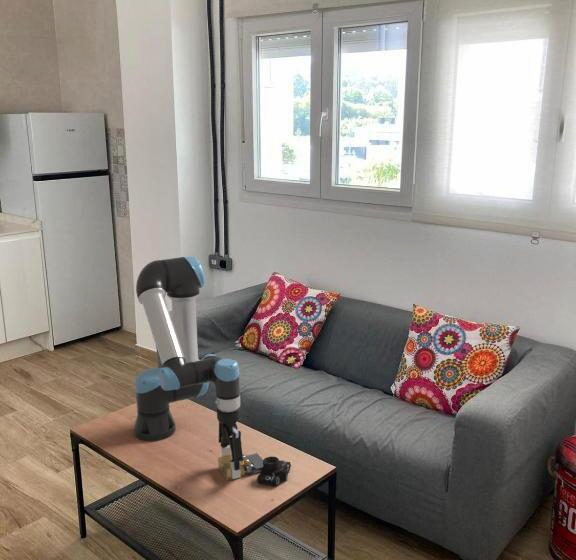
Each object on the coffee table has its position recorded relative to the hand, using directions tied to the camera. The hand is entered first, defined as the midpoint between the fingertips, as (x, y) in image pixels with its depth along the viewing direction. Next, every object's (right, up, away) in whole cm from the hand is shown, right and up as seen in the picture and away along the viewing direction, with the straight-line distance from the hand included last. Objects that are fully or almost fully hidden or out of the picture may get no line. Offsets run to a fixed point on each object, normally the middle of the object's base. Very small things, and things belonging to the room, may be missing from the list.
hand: (231, 471), depth 211 cm
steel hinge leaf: (+7, +1, +3) cm, 8 cm away
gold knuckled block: (+2, 0, +1) cm, 2 cm away
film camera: (+15, -1, -2) cm, 15 cm away
